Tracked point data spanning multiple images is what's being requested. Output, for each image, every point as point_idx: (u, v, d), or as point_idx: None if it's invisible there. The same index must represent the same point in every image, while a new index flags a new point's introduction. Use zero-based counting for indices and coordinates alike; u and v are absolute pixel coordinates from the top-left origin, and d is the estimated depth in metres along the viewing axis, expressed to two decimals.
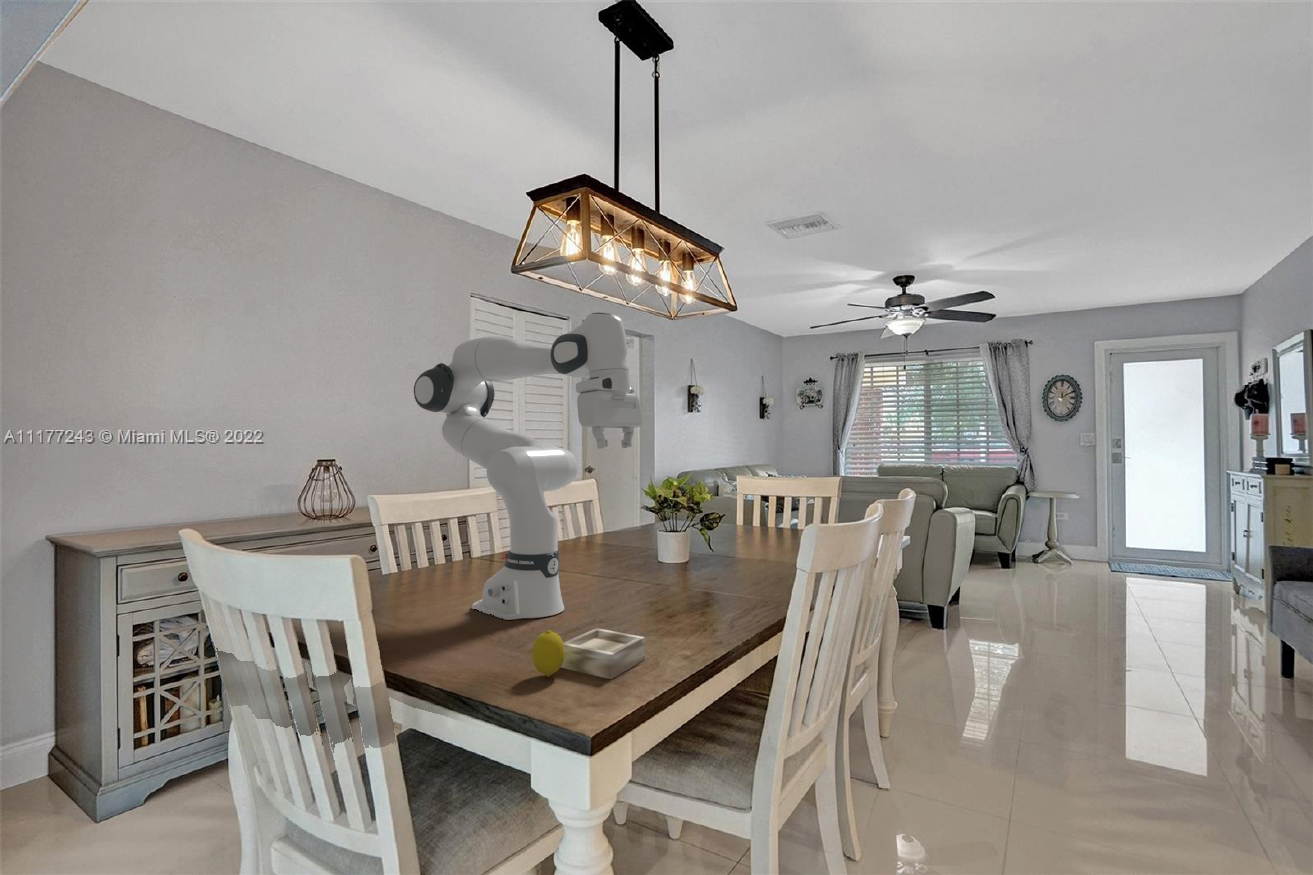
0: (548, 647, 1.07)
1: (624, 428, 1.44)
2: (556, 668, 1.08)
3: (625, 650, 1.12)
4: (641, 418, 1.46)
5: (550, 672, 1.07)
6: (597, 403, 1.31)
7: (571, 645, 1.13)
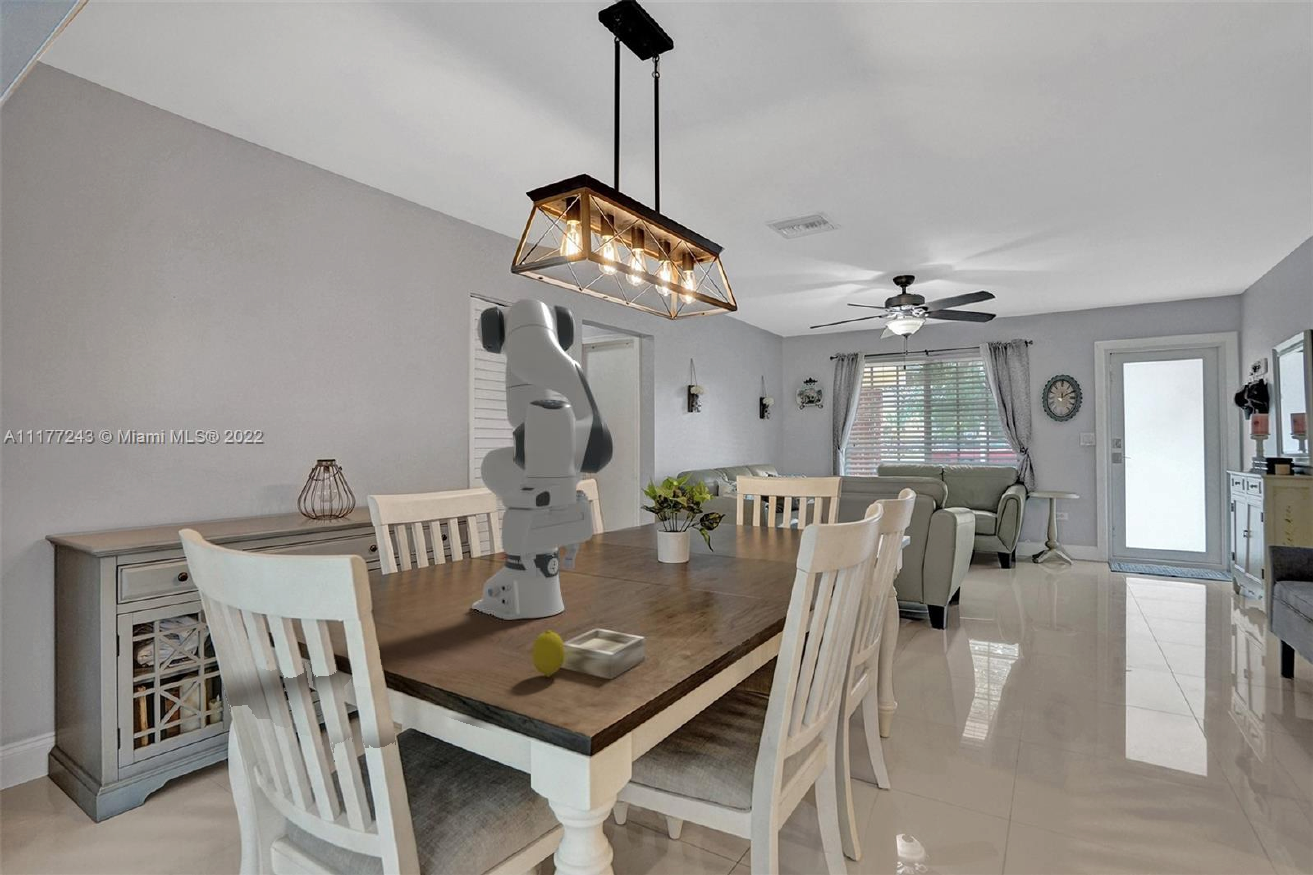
0: (548, 647, 1.07)
1: None
2: (556, 668, 1.08)
3: (625, 650, 1.12)
4: (590, 529, 1.16)
5: (550, 672, 1.07)
6: (527, 526, 1.01)
7: (571, 645, 1.13)
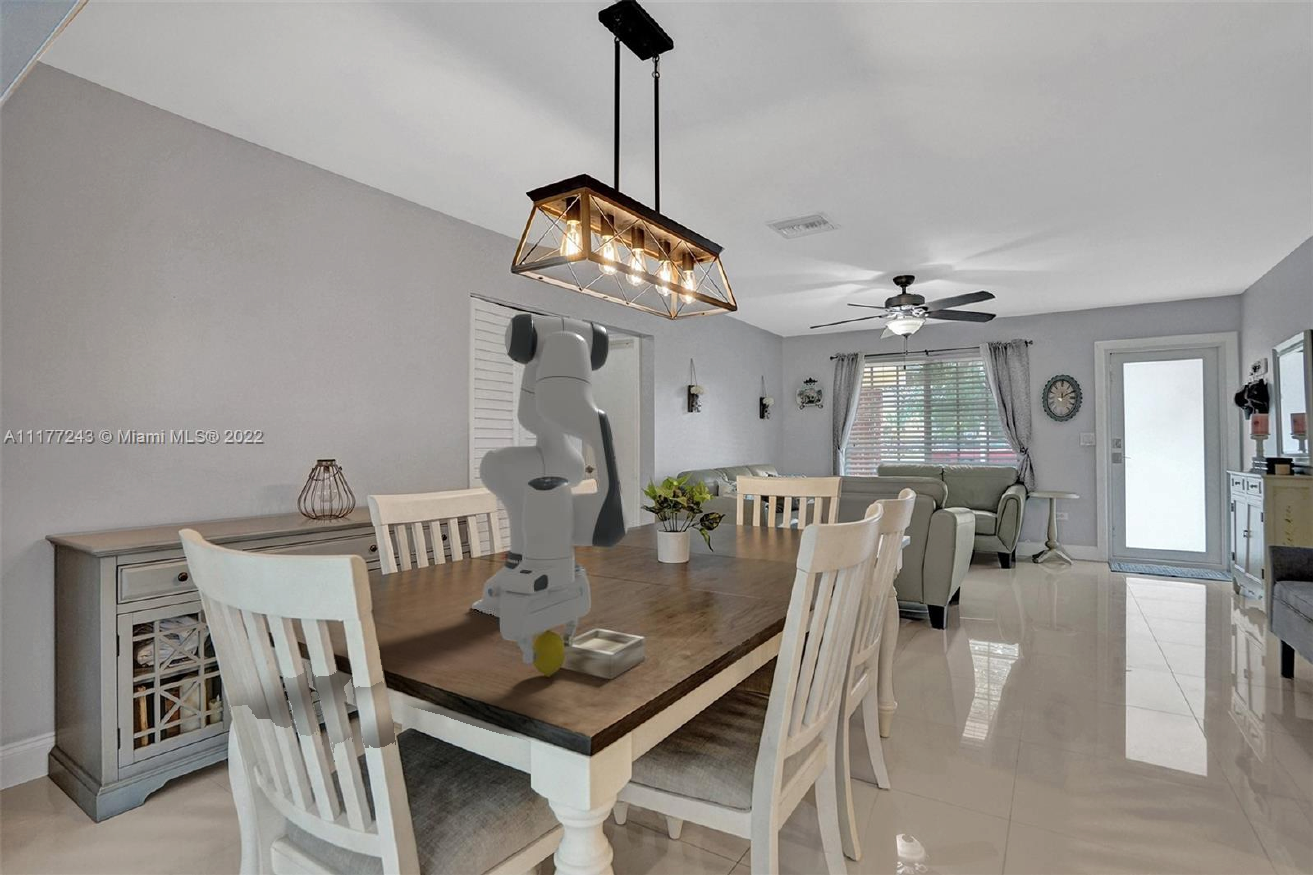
0: (548, 647, 1.07)
1: None
2: (556, 668, 1.08)
3: (625, 650, 1.12)
4: (588, 604, 1.16)
5: (550, 672, 1.07)
6: (525, 612, 1.01)
7: (571, 645, 1.13)
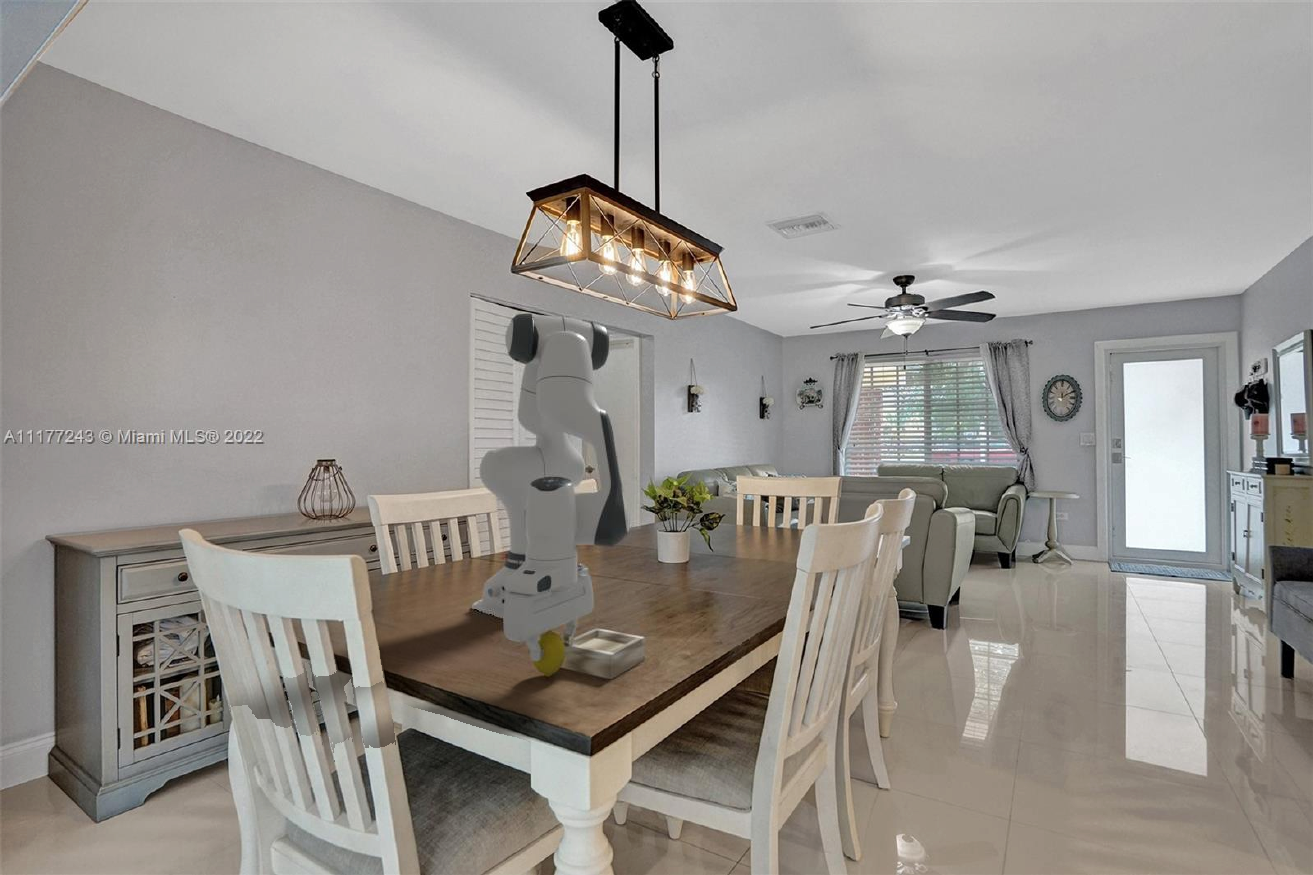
0: (548, 647, 1.07)
1: None
2: (556, 668, 1.08)
3: (625, 650, 1.12)
4: (591, 602, 1.16)
5: (550, 672, 1.07)
6: (529, 612, 1.01)
7: (571, 645, 1.13)
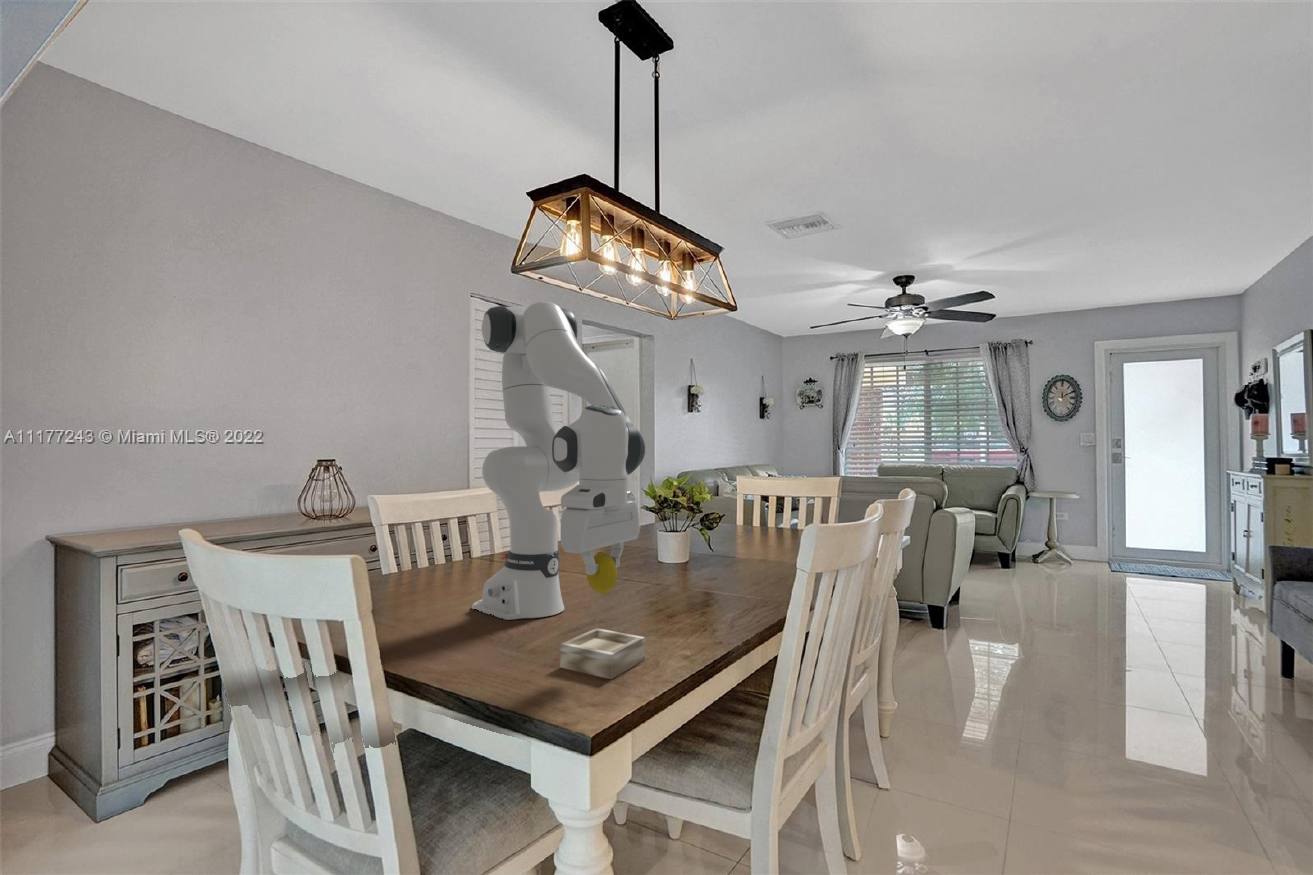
0: (602, 566, 1.13)
1: None
2: (611, 585, 1.14)
3: (625, 650, 1.12)
4: (638, 528, 1.22)
5: (605, 589, 1.14)
6: (585, 526, 1.07)
7: (571, 645, 1.13)
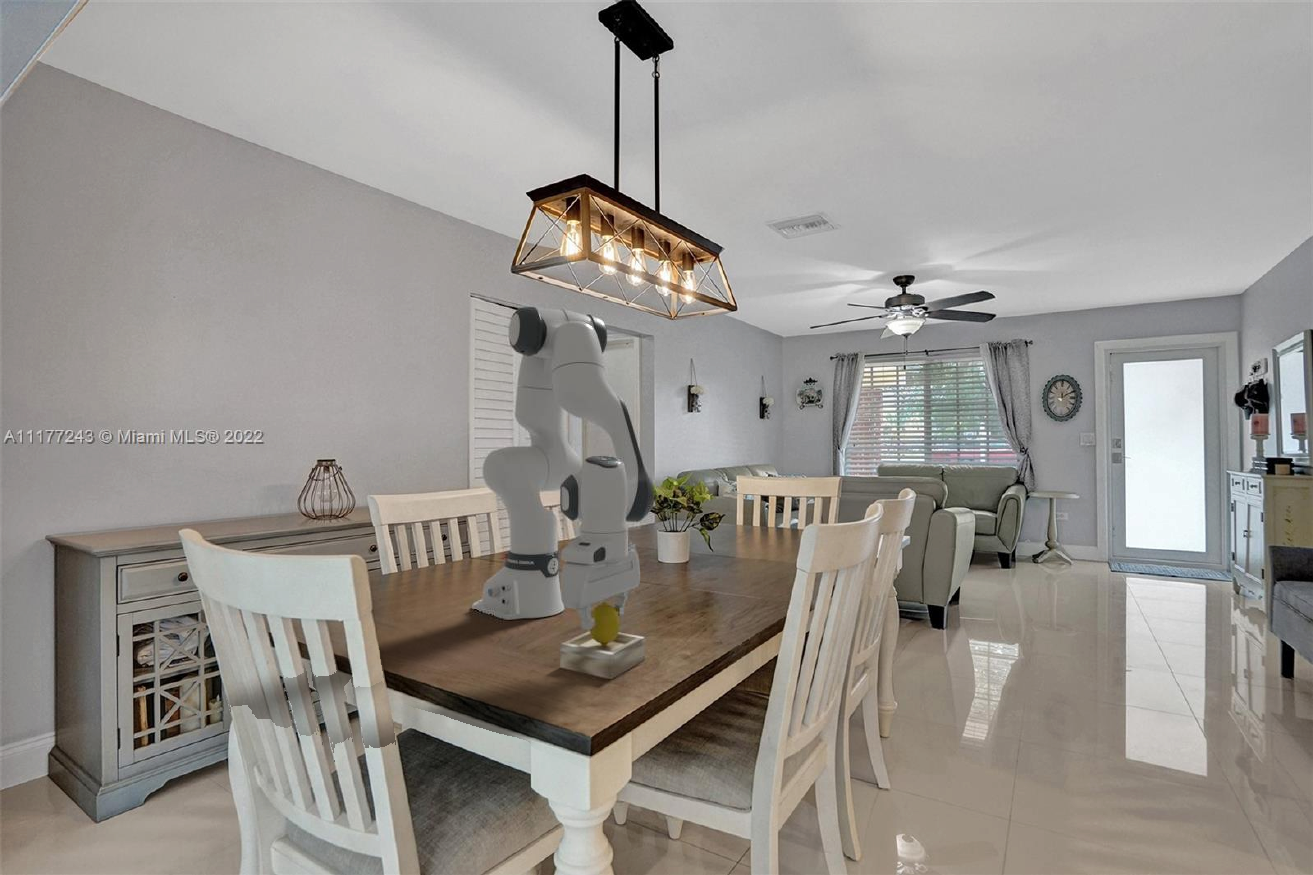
0: (605, 618, 1.14)
1: None
2: (612, 638, 1.14)
3: (625, 650, 1.12)
4: (638, 577, 1.22)
5: (607, 641, 1.14)
6: (585, 581, 1.07)
7: (571, 645, 1.13)
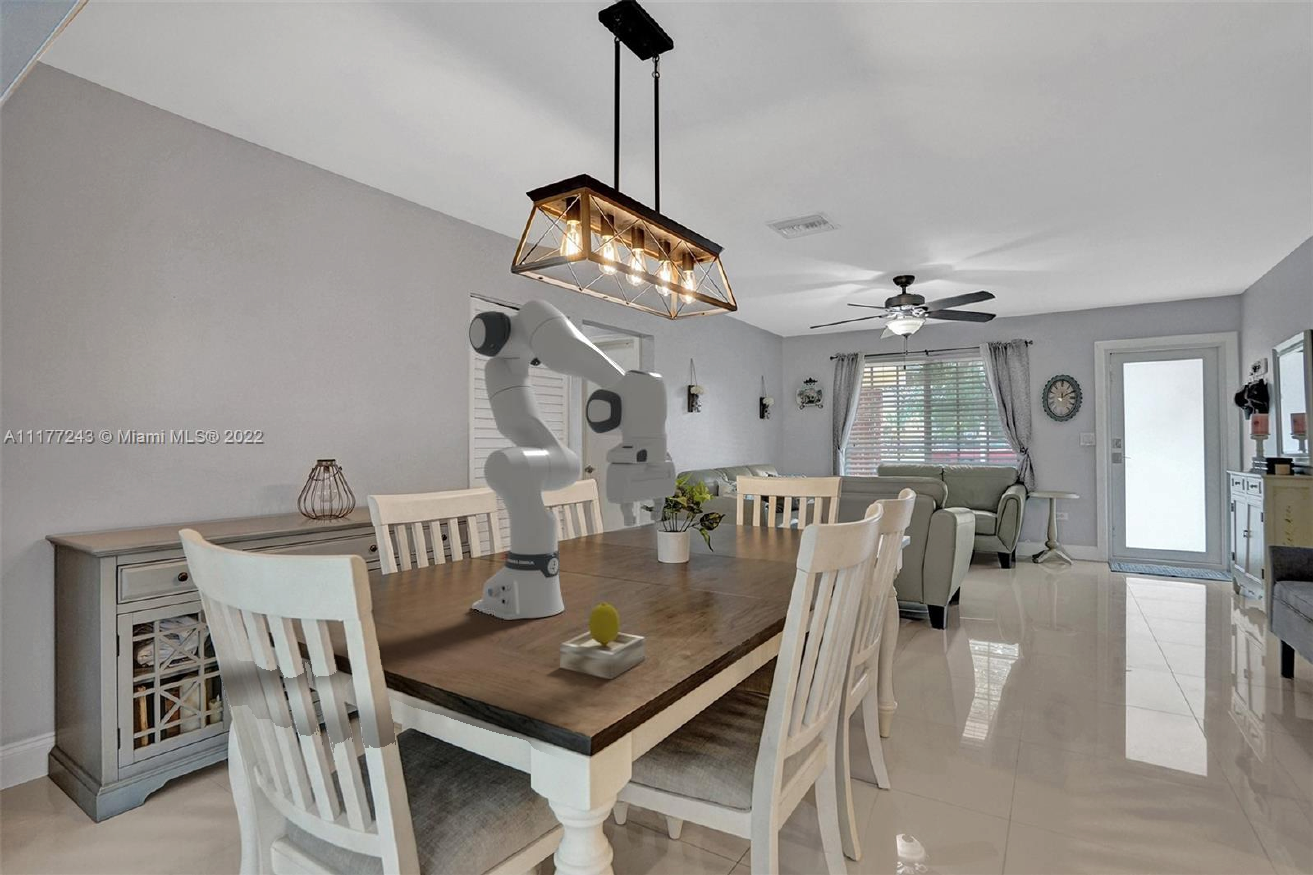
0: (605, 618, 1.14)
1: None
2: (612, 638, 1.14)
3: (625, 650, 1.12)
4: (674, 486, 1.31)
5: (607, 641, 1.14)
6: (629, 479, 1.16)
7: (571, 645, 1.13)
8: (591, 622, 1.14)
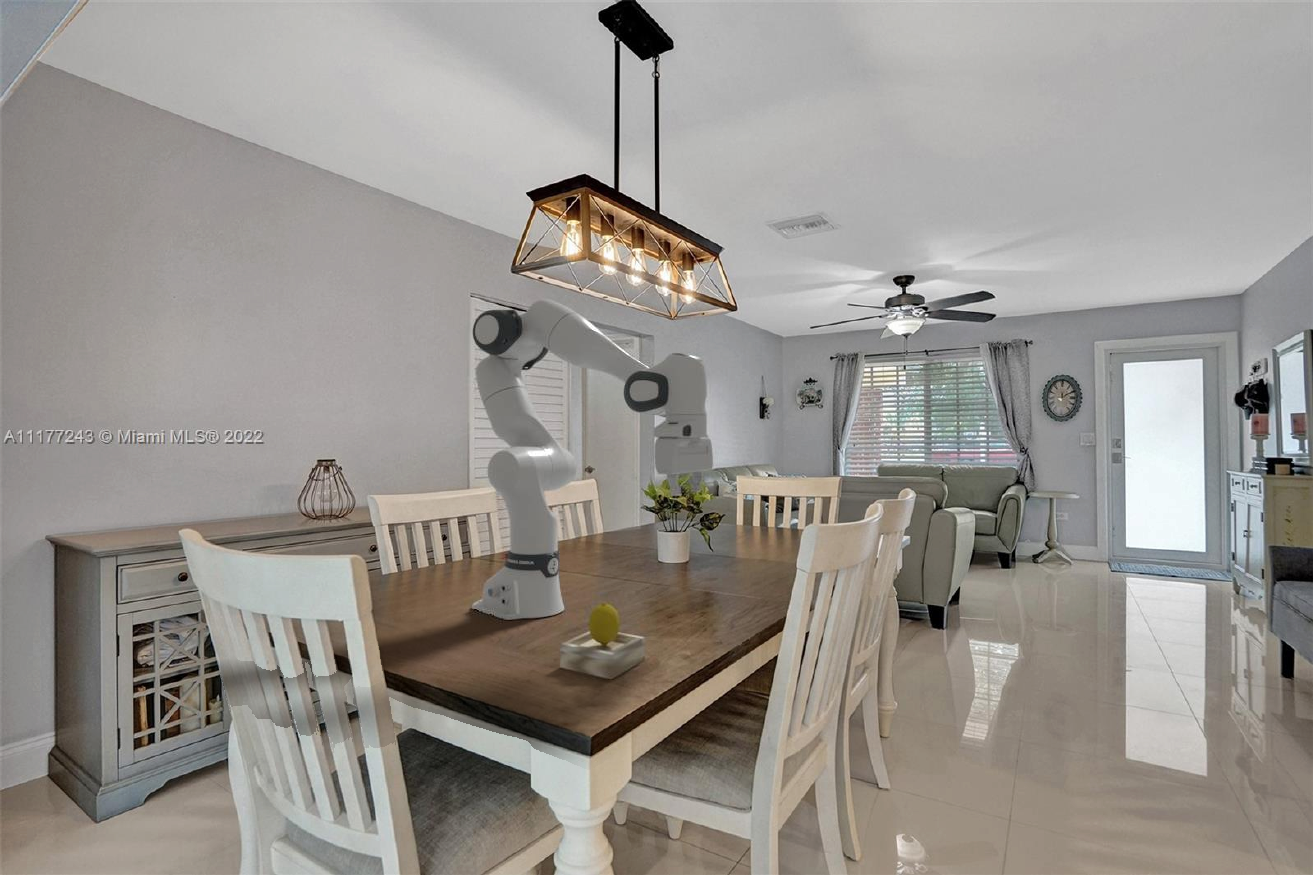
0: (605, 618, 1.14)
1: (694, 472, 1.40)
2: (612, 638, 1.14)
3: (625, 650, 1.12)
4: (711, 462, 1.43)
5: (607, 641, 1.14)
6: (676, 451, 1.28)
7: (571, 645, 1.13)
8: (591, 622, 1.14)
